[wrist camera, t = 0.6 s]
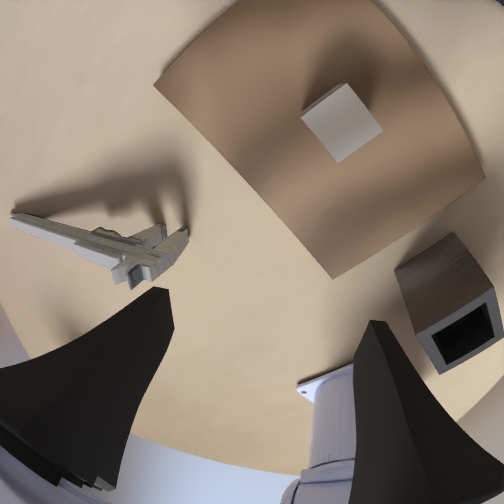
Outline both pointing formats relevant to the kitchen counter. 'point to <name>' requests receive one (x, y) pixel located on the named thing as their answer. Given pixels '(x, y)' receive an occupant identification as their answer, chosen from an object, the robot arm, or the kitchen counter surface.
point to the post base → (286, 149)
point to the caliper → (112, 247)
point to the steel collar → (450, 303)
